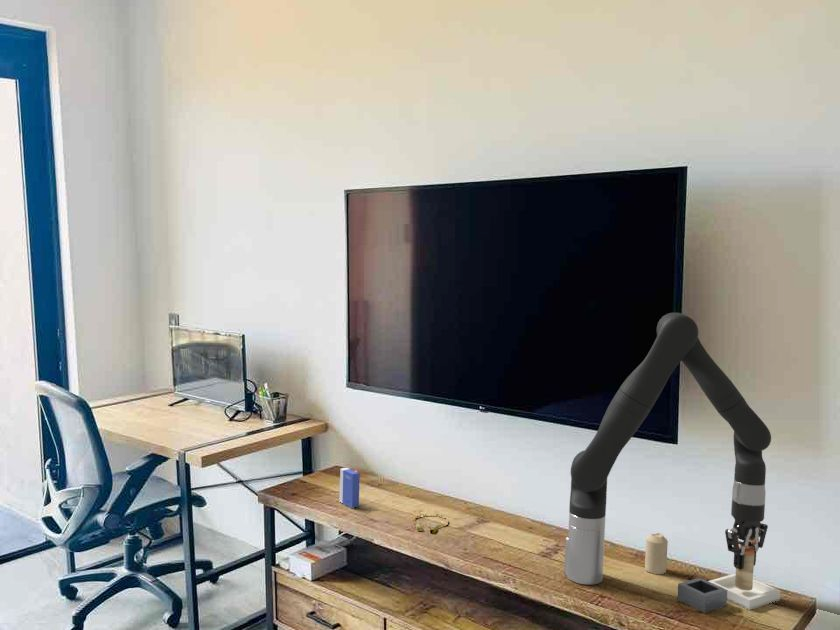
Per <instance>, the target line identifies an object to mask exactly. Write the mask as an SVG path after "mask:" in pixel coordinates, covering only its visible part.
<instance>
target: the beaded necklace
mask: <svg viewBox="0 0 840 630" xmlns="http://www.w3.org/2000/svg"><path fill="white" fill-rule="evenodd" d="M424 514H425V515H424ZM424 514H419V515H417V516H415V517H414V518H413V520H414V522H415V523H416V524H415V523H414V524H415V529H416V531H417V530H418V531H422V532H424V527H422V526H423V525H422V524H420V523H417V521H416V519H415V518H416V517H417V518H418V517H421V515H423V516H427V515H426V514H427V513H424ZM435 514H436V516H439V515H441V517H442V516H443V515H442V514H437V513H435ZM421 525H422V526H421ZM444 525H445V524H444ZM444 525H442V526H444ZM440 526H441V525H438V526H437V525H432V526H430V527H431V528H429V529H430V530H429V534H433V533H434V534H435V533H437V532H436V531H437V529H440V528H439V527H440ZM418 531H417V532H418ZM431 531H432V533H431Z"/></svg>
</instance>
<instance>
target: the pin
mask: <svg viewBox="0 0 840 630" xmlns="http://www.w3.org/2000/svg"><path fill="white" fill-rule="evenodd" d="M740 548H741V545H740V544H739V549H740ZM754 551H755V549H754V548H753V547H750V546H746V547H745V551H744V554H743V555H744V566H743V569H741V570H740V569H737V568H735V573H736V576H735V587H737V588H738V589H741V590H747V591H748V590H752V586H753V579H754V568H755V566H754Z"/></svg>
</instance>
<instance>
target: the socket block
mask: <svg viewBox="0 0 840 630" xmlns="http://www.w3.org/2000/svg"><path fill="white" fill-rule="evenodd" d="M709 581H710V580H706V579H704V578H701V577H698V578H693V579H689V580H686V581H683V582H680V583H678V584H677V597H676V598H677V600H678V601H680V602H681V603H684V604H686V605H688V606H690V607H692V608H694V609H696V610H697V611H700V612H702V613H703V614H706V613H709V612H712V611H715V610H718V609H722V608H725V607H727V606H728V604H727V603H728V600H727V590H726V589H724V588H722V587H720V586H717V585H715V584H713V583H711V582H709Z"/></svg>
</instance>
